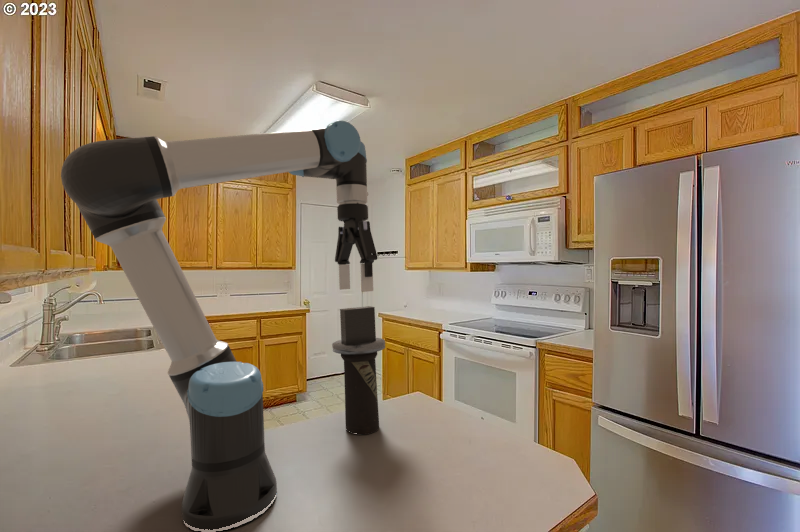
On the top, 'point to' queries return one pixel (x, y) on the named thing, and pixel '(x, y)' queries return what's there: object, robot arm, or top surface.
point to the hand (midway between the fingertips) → (355, 290)
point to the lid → (358, 332)
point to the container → (361, 393)
